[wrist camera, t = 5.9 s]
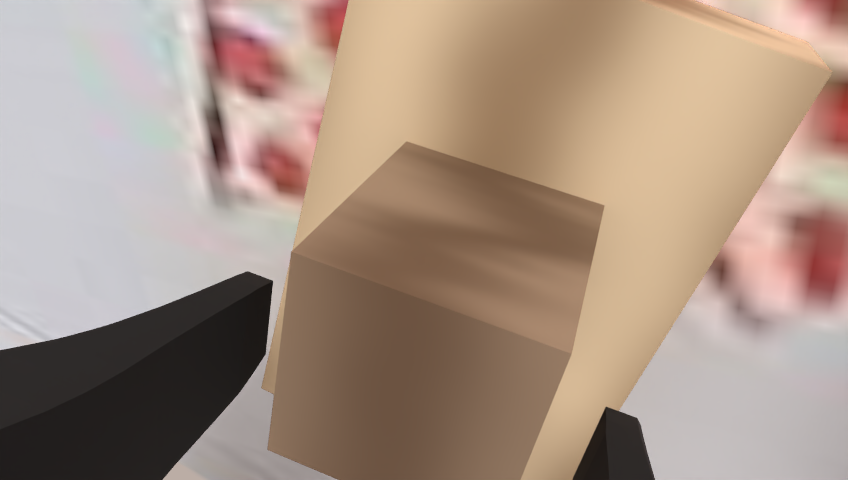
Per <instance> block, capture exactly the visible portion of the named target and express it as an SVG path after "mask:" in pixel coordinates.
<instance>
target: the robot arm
mask: <svg viewBox="0 0 848 480" xmlns="http://www.w3.org/2000/svg"><path fill="white" fill-rule="evenodd" d="M272 286H273V281H272V280H269V279H267V278H264V277H261V276H259V275H256V274H253V273H251V272H248V271H247V272H245V273H242V274H239V275H237V276H234V277H232V278H229V279H227V280H225V281H222V282H220V283H217V284H215V285H213V286H210V287H208V288H205V289H203V290H201V291H198V292H196V293H193V294H191V295H188V296H186V297H184V298H181V299H179V300H176V301H174V302H171V303H169V304H166V305H164V306H161V307H158V308H156V309H153V310H150V311H147V312H144V313H141V314H139V315H136V316H133V317H130V318H127V319H124V320H122V321H119V322H116V323H113V324H110V325H106V326H103V327H100V328H96V329H93V330H89V331H86V332H82V333H78V334H74V335H71V336H67V337H63V338H59V339H54V340H50V341H45V342H40V343H35V344H30V345H25V346H20V347H15V348H10V349H5V350H0V480H163V478H164V477H165V476H166V475H167V474H168V472H169V471H170V470H171V469H172V468H173V466H174V465H175V464H176V463H177V462H178V461H179V460H180V459H181V458H182V456H183V455H184V454H185V453H186V452H187V451H188V450H189V449H190V448H191V446H192V445H193V444H194V443H195V442H196V441H197V440H198V439H199V438H200V436H201V435H202V434H203V433H204V432H205V431H206V430H207V429H208V428H209V426H210V425H211V424H212V423H213V422H214V421H215V420H216V419H217V418H218V416H219V415H220V414H221V413H222V412H223V411H224V410H225V408H226V407H227V406H228V405H229V404H230V403H231V402H232V401H233V399H234V398H235V397H236V396H237V395H238V394H239V392H240V391H241V390H242V388H243V387H244V385H245V384H246V383H247V381H248V380H249V378H250V377H251V375H252V374H253V372H254V371H255V369H256V368H257V366H258V365H259V363H260V362H261V360H262V359H263V357H264V356H265V354H266V344H267V335H268V325H269V315H270V305H271V296H272ZM573 480H655V478H654V474H653V471H652V468H651V464H650V461H649V457H648V454H647V450H646V446H645V442H644V438H643V434H642V430H641V425H640V423H639V421H638V419H637V418H635V417H633V416H630V415H627V414H625V413H622V412H619V411H617V410H614V409H611V408H609V407H605V409H604V412H603V414H602V416H601V418H600V420H599V422H598V425H597V427H596V429H595V431H594V433H593V435H592V438H591V440H590V442H589V444H588V446H587V448H586V451H585V453H584V455H583V457H582V459H581V461H580V463H579V466H578V468H577V470H576V472H575V474H574V476H573Z"/></svg>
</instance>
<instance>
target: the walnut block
mask: <svg viewBox="0 0 848 480" xmlns="http://www.w3.org/2000/svg"><path fill="white" fill-rule="evenodd" d="M604 206H605V205H602V204H599V203H596V202H593V201H590V200H586V199H583V198H580V197H577V196H574V195H571V194H568V193H565V192H562V191H559V190H556V189H552V188H549V187H546V186H543V185H540V184H537V183H534V182H531V181H528V180H525V179H522V178H518V177H515V176H512V175H509V174H506V173H503V172H500V171H497V170H494V169H491V168H488V167H484V166H481V165H478V164H475V163H472V162H469V161H466V160H463V159H460V158H457V157H454V156H450V155H447V154H444V153H441V152H438V151H435V150H432V149H429V148H426V147H423V146H420V145H416V144H413V143H410V142H407V141H406V142H405V143H404V144H403V145H402V146H401V147H400V148H399V149H398V150H397V151H396V152H395V153H394V154H393V155H392V156H391V157H390V158H389V159H387V160H386V161H385V162H384V163H383V164H382V165H381V166H380V167H379V168H378V169H377V170H376V171H375V172H374V173H373V174H372V175H371V176H370V177H369V178H368V179H367V180H366V181H365V182H363V183H362V184H361V185H360V186H359V187H358V188H357V189H356V190H355V191H354V192H353V193H352V194H351V195H350V196H349V197H348V198H347V199H346V200H345V201H344V202H343V203H342V204H341V205H339V206H338V207H337V208H336V209H335V210H334V211H333V212H332V213H331V214H330V215H329V216H328V217H327V218H326V219H325V220H324V221H323V222H322V223H321V224H320V225H319V226H318V227H317V228H315V229H314V230H313V231H312V232H311V233H310V234H309V235H308V236H307V237H306V238H305V239H304V240H303V241H302V242H301V243H300V244H299V245H298V246H297V247H296V248H295V249H294V250H293V251H291V259H290V267H289V275H288V284H287V292H286V300H285V308H284V317H283V325H282V333H281V342H280V350H279V358H278V367H277V375H276V383H275V392H274V400H273V408H272V416H271V425H270V433H269V441H268V450H269V451H272V452H274V453H276V454H279V455H281V456H283V457H286V458H288V459H291V460H293V461H295V462H298V463H300V464H302V465H305V466H307V467H309V468H312V469H314V470H317V471H319V472H321V473H324V474H326V475H328V476H331V477H333V478H335V479H338V480H521V477H522V475H523V472H524V470H525V467H526V465H527V463H528V460H529V458H530V455H531V453H532V450H533V448H534V445H535V443H536V440H537V438H538V436H539V433H540V431H541V428H542V426H543V423H544V421H545V418H546V416H547V413H548V411H549V408H550V406H551V404H552V401H553V399H554V396H555V394H556V391H557V389H558V386H559V384H560V381H561V379H562V377H563V374H564V372H565V369H566V367H567V364H568V362H569V359H570V357H571V354H572V350H573V346H574V341H575V337H576V332H577V328H578V323H579V319H580V314H581V310H582V305H583V301H584V296H585V292H586V287H587V283H588V278H589V274H590V269H591V265H592V260H593V256H594V251H595V247H596V242H597V238H598V233H599V229H600V224H601V220H602V215H603V211H604Z"/></svg>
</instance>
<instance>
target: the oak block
mask: <svg viewBox="0 0 848 480" xmlns="http://www.w3.org/2000/svg"><path fill="white" fill-rule="evenodd" d="M831 74H832V71H831V70H830V69H829V67H828V66H827V65H826V64H825V63H824V61H823V60H822V59H821V58H820V57H819V55H818V54H817V53H816V52H815V50H814V49H813V48H812V47H811V46H810V44H809V43H808V42H806V41H803V40H800V39H798V38H795V37H792V36H790V35H787V34H784V33H781V32H779V31H776V30H773V29H771V28H768V27H765V26H762V25H760V24H757V23H754V22H752V21H749V20H746V19H743V18H741V17H738V16H735V15H733V14H730V13H727V12H724V11H722V10H719V9H716V8H714V7H711V6H708V5H705V4H703V3H700V2H697V1H695V0H349V2H348V6H347V11H346V15H345V20H344V24H343V28H342V33H341V37H340V42H339V46H338V51H337V55H336V60H335V64H334V68H333V73H332V77H331V82H330V86H329V91H328V95H327V99H326V104H325V108H324V113H323V117H322V122H321V126H320V130H319V135H318V139H317V144H316V148H315V153H314V157H313V161H312V166H311V170H310V175H309V179H308V184H307V188H306V193H305V197H304V201H303V206H302V210H301V215H300V219H299V224H298V228H297V232H296V237H295V241H294V246H293V250H294V249H295V248H296V247H297V246H298V245H299V244H300V243H301V242H302V241H303V240H304V239H305V238H306V237H307V236H308V235H309V234H310V233H311V232H312V231H313V230H314V229H315V228H317V227H318V226H319V225H320V224H321V223H322V222H323V221H324V220H325V219H326V218H327V217H328V216H329V215H330V214H331V213H332V212H333V211H334V210H335V209H336V208H337V207H338V206H339V205H341V204H342V203H343V202H344V201H345V200H346V199H347V198H348V197H349V196H350V195H351V194H352V193H353V192H354V191H355V190H356V189H357V188H358V187H359V186H360V185H361V184H362V183H363V182H365V181H366V180H367V179H368V178H369V177H370V176H371V175H372V174H373V173H374V172H375V171H376V170H377V169H378V168H379V167H380V166H381V165H382V164H383V163H384V162H385V161H386V160H387V159H389V158H390V157H391V156H392V155H393V154H394V153H395V152H396V151H397V150H398V149H399V148H400V147H401V146H402V145H403V144H404V143H405V142H406V141H407V142H410V143H413V144H416V145H420V146H423V147H426V148H429V149H432V150H435V151H438V152H441V153H444V154H447V155H450V156H454V157H457V158H460V159H463V160H466V161H469V162H472V163H475V164H478V165H481V166H484V167H488V168H491V169H494V170H497V171H500V172H503V173H506V174H509V175H512V176H515V177H518V178H522V179H525V180H528V181H531V182H534V183H537V184H540V185H543V186H546V187H549V188H552V189H556V190H559V191H562V192H565V193H568V194H571V195H574V196H577V197H580V198H583V199H586V200H590V201H593V202H596V203H599V204H602V205H605V206H604V211H603V215H602V220H601V224H600V229H599V233H598V238H597V242H596V247H595V251H594V256H593V260H592V265H591V269H590V274H589V278H588V283H587V287H586V292H585V296H584V301H583V305H582V310H581V314H580V319H579V323H578V328H577V332H576V337H575V341H574V346H573V350H572V354H571V357H570V359H569V362H568V364H567V367H566V369H565V372H564V374H563V377H562V379H561V381H560V384H559V386H558V389H557V391H556V394H555V396H554V399H553V401H552V404H551V406H550V408H549V411H548V413H547V416H546V418H545V421H544V423H543V426H542V428H541V431H540V433H539V436H538V438H537V440H536V443H535V445H534V448H533V450H532V453H531V455H530V458H529V460H528V463H527V465H526V467H525V470H524V472H523V475H522V477H521V480H573V476H574V474H575V472H576V470H577V468H578V466H579V463H580V461H581V459H582V457H583V455H584V453H585V451H586V448H587V446H588V444H589V442H590V440H591V438H592V435H593V433H594V431H595V429H596V427H597V425H598V422H599V420H600V418H601V416H602V414H603V412H604V409H605V407H609V408H611V409H614V410H617V411H619V410H620V408H621V406H622V405H623V403H624V402H625V400H626V398H627V397H628V395H629V394H630V392H631V391H632V389H633V387H634V386H635V384H636V383H637V381H638V379H639V378H640V376H641V375H642V373H643V372H644V370H645V368H646V367H647V365H648V364H649V362H650V360H651V359H652V357H653V356H654V354H655V353H656V351H657V349H658V348H659V346H660V345H661V343H662V341H663V340H664V338H665V337H666V335H667V334H668V332H669V330H670V329H671V327H672V326H673V324H674V322H675V321H676V319H677V318H678V316H679V315H680V313H681V311H682V310H683V308H684V307H685V305H686V303H687V302H688V300H689V299H690V297H691V296H692V294H693V292H694V291H695V289H696V288H697V286H698V284H699V283H700V281H701V280H702V278H703V277H704V275H705V273H706V272H707V270H708V269H709V267H710V265H711V264H712V262H713V261H714V259H715V258H716V256H717V254H718V253H719V251H720V250H721V248H722V246H723V245H724V243H725V242H726V240H727V239H728V237H729V235H730V234H731V232H732V231H733V229H734V227H735V226H736V224H737V223H738V221H739V220H740V218H741V216H742V215H743V213H744V212H745V210H746V208H747V207H748V205H749V204H750V202H751V201H752V199H753V197H754V196H755V194H756V193H757V191H758V189H759V188H760V186H761V185H762V183H763V182H764V180H765V178H766V177H767V175H768V174H769V172H770V170H771V169H772V167H773V166H774V164H775V163H776V161H777V159H778V158H779V156H780V155H781V153H782V151H783V150H784V148H785V147H786V145H787V144H788V142H789V140H790V139H791V137H792V136H793V134H794V132H795V131H796V129H797V128H798V126H799V125H800V123H801V121H802V120H803V118H804V117H805V115H806V113H807V112H808V110H809V109H810V107H811V106H812V104H813V102H814V101H815V99H816V98H817V96H818V94H819V93H820V91H821V90H822V88H823V87H824V85H825V83H826V82H827V80H828V79H829V77H830V76H831ZM293 250H292V251H293ZM289 267H290V263H289ZM288 275H289V268H288V272H287V277H286V281H285V286H284V290H283V294H282V299H281V303H280V308H279V312H278V317H277V321H276V326H275V330H274V334H273V339H272V343H271V348H270V352H269V357H268V361H267V365H266V370H265V374H264V379H263V383H262V389H264V390H266V391H268V392H270V393H272V394H274V392H275V383H276V375H277V367H278V358H279V350H280V342H281V333H282V325H283V317H284V308H285V300H286V292H287V284H288Z"/></svg>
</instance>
